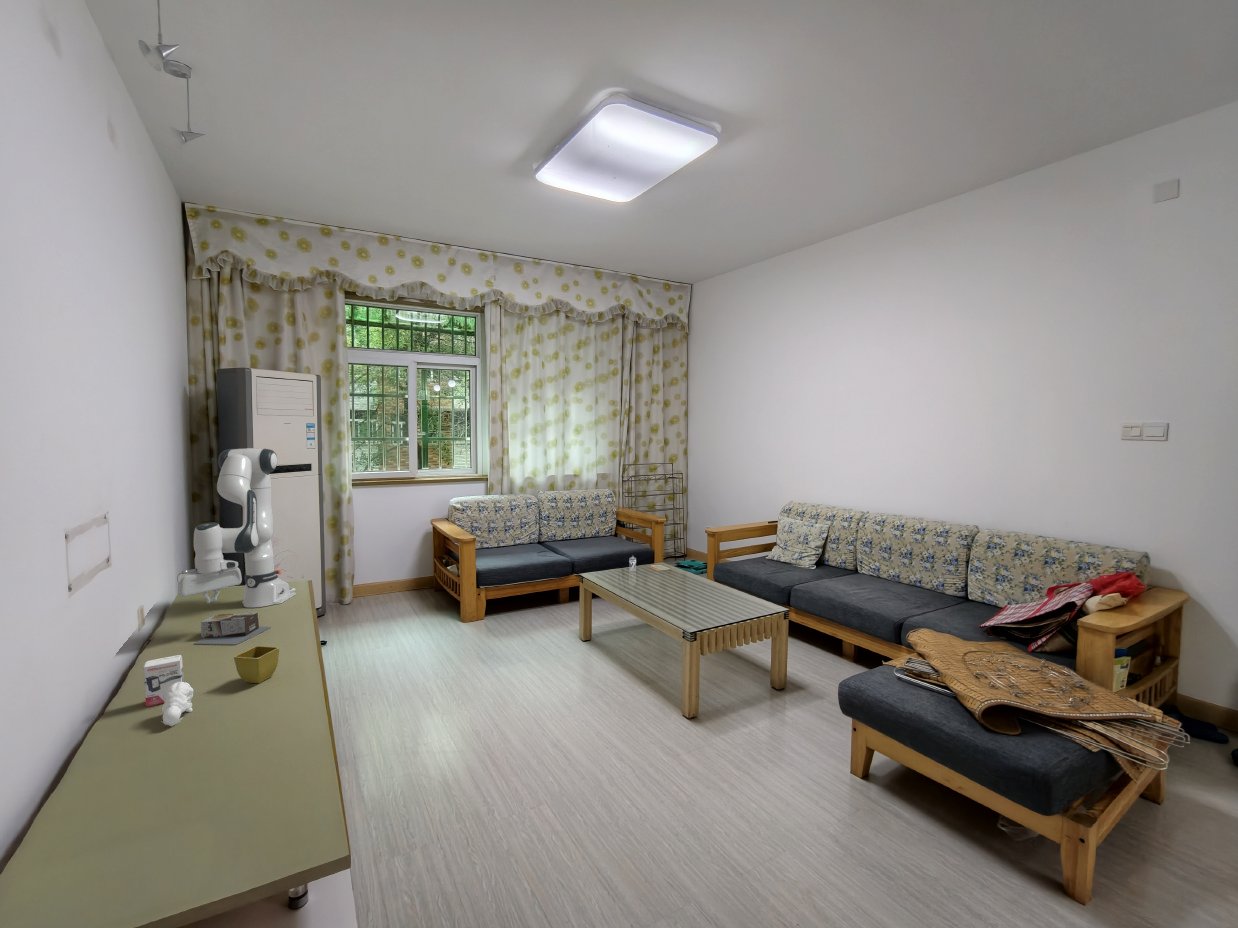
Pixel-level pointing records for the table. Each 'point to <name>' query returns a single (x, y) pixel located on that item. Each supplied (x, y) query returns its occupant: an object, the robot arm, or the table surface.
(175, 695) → the white figurine
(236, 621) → the coffee box
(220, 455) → the robot arm
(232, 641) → the mat
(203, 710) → the table surface
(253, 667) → the flower pot
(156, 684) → the ink box
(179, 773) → the table surface
